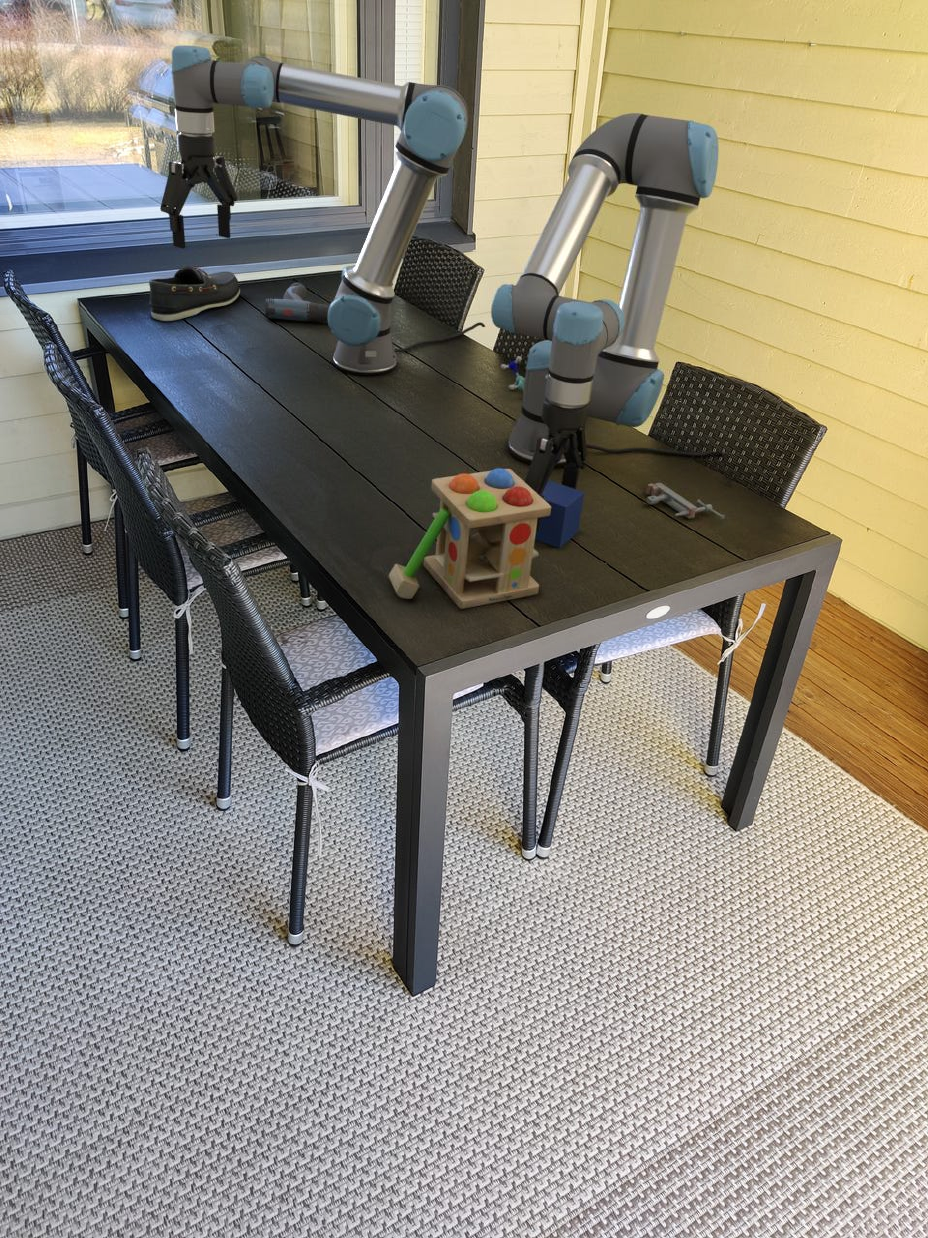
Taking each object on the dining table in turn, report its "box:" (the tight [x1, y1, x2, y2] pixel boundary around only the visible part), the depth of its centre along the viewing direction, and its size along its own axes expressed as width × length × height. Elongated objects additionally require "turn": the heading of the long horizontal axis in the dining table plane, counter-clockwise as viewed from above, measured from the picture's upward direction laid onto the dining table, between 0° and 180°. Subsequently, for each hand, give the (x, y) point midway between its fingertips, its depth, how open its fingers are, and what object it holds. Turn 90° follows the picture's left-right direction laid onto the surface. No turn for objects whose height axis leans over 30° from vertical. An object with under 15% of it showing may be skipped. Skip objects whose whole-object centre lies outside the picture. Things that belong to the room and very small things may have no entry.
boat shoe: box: [148, 265, 241, 322], centre depth 262 cm, size 13×33×10 cm, turn 147°
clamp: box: [645, 482, 726, 521], centre depth 187 cm, size 15×2×10 cm
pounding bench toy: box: [388, 468, 551, 610], centre depth 154 cm, size 23×14×18 cm, turn 116°
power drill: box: [264, 282, 330, 322], centre depth 265 cm, size 5×19×20 cm
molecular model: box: [500, 355, 525, 393], centre depth 230 cm, size 12×10×10 cm
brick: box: [535, 479, 585, 549], centre depth 174 cm, size 7×9×8 cm
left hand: (202, 241), depth 212 cm, fingers open, 13 cm apart
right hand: (549, 514), depth 174 cm, fingers open, 13 cm apart
